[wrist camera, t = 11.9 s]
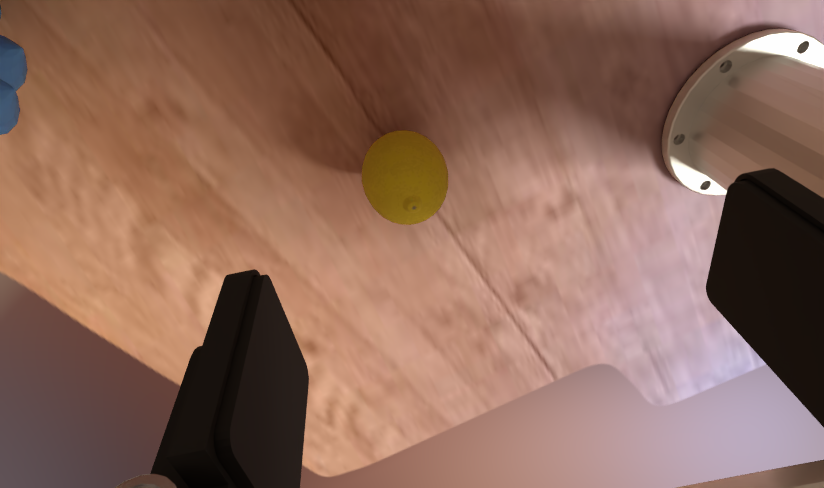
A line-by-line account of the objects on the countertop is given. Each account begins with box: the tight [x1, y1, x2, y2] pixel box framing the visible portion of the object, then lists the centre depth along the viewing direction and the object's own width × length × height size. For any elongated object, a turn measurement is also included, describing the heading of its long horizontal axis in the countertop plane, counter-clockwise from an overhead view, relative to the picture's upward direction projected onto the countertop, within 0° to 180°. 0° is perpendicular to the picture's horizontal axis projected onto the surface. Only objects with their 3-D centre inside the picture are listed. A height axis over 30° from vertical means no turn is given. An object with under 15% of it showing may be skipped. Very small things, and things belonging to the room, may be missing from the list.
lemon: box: [362, 130, 448, 225], centre depth 33 cm, size 6×6×8 cm
